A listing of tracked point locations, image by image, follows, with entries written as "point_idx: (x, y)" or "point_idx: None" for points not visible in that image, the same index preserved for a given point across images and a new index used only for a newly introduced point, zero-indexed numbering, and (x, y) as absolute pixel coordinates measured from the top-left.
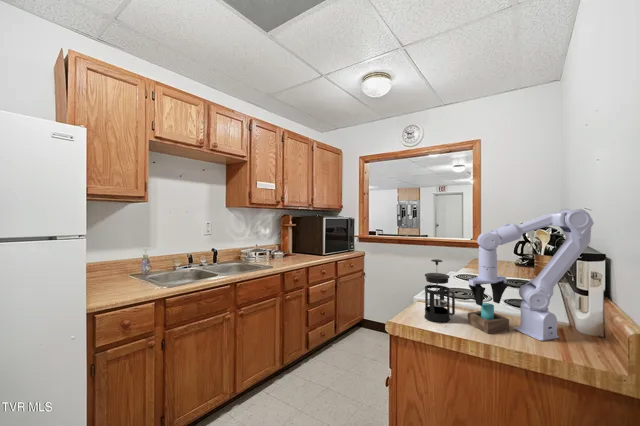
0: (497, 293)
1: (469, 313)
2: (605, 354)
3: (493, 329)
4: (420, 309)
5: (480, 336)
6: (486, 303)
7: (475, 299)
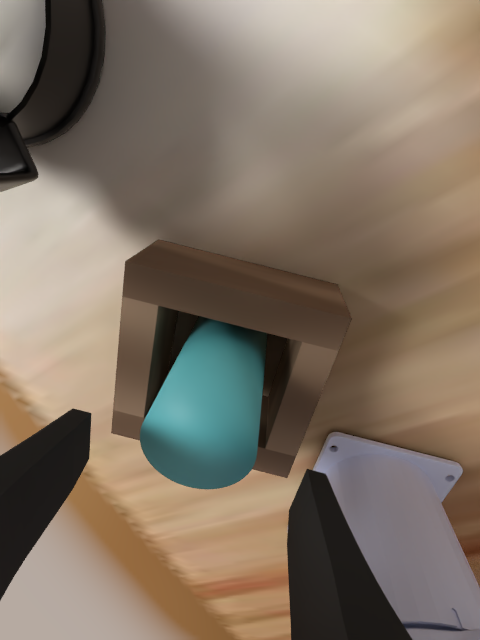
0: (305, 629)
1: (124, 279)
2: None
3: None
4: None
5: (80, 379)
6: (230, 425)
7: (31, 441)
